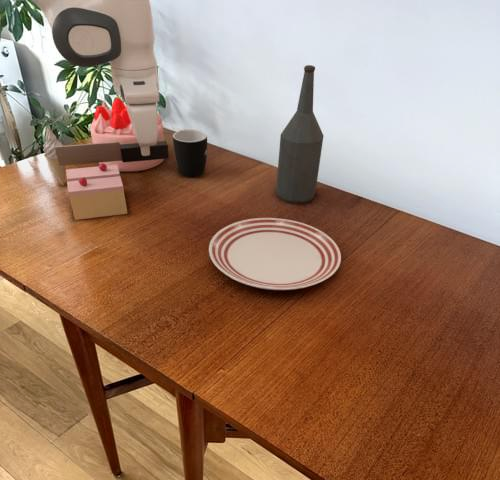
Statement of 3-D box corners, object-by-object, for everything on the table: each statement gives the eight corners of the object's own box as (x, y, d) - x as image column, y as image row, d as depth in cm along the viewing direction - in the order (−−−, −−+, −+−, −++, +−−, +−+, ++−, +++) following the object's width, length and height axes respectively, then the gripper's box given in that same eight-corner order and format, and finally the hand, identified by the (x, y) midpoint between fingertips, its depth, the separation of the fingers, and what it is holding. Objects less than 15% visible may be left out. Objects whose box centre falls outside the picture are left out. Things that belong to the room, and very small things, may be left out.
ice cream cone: (48, 185, 120) (32, 125, 109) (64, 179, 123) (50, 120, 112) (61, 191, 118) (45, 130, 107) (77, 184, 121) (63, 124, 110)
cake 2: (179, 159, 134) (175, 107, 125) (121, 179, 123) (112, 124, 114) (138, 139, 144) (132, 90, 134) (81, 157, 133) (70, 104, 123)
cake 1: (75, 220, 108) (66, 184, 102) (72, 196, 116) (64, 162, 110) (127, 213, 111) (121, 178, 105) (121, 191, 119) (116, 157, 113)
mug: (211, 178, 126) (210, 140, 119) (178, 181, 124) (175, 143, 117) (202, 160, 134) (201, 124, 127) (171, 162, 132) (168, 126, 126)
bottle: (281, 183, 125) (292, 57, 105) (317, 189, 123) (335, 62, 103) (272, 201, 118) (282, 69, 97) (310, 207, 116) (328, 74, 96)
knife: (59, 168, 96) (54, 149, 94) (59, 163, 98) (54, 144, 95) (169, 158, 102) (167, 140, 99) (167, 154, 104) (165, 136, 101)
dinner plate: (245, 217, 111) (245, 204, 109) (354, 247, 103) (357, 234, 101) (184, 276, 93) (183, 262, 91) (311, 319, 85) (314, 305, 83)
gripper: (114, 67, 97) (124, 134, 107) (125, 97, 83) (135, 172, 93) (144, 66, 99) (151, 132, 108) (160, 95, 85) (166, 169, 94)
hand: (144, 151), depth 100 cm, fingers closed on knife, 2 cm apart
